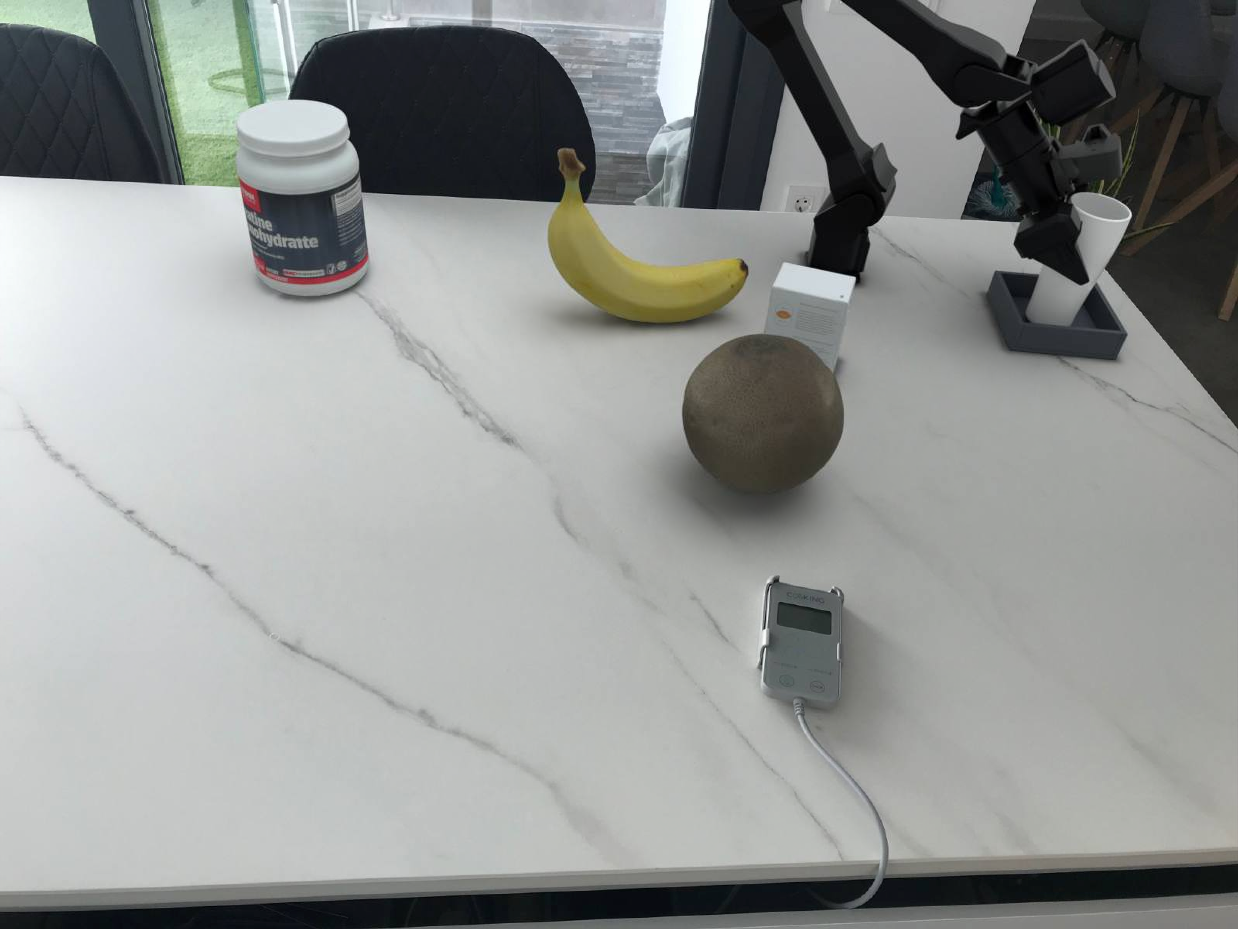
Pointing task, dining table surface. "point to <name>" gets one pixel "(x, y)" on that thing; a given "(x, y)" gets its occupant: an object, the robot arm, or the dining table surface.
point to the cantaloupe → (762, 413)
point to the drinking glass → (1097, 244)
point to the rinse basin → (1086, 337)
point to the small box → (810, 308)
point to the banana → (631, 267)
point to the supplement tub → (302, 197)
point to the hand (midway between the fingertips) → (1087, 265)
